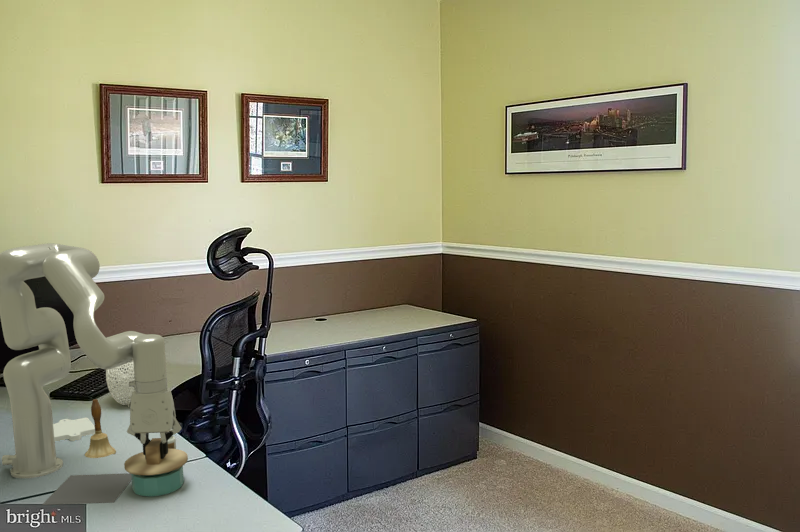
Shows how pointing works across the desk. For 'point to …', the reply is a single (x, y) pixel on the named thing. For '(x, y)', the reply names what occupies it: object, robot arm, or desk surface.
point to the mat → (90, 489)
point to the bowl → (157, 483)
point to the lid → (155, 460)
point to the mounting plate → (73, 429)
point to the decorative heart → (121, 382)
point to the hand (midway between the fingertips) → (156, 456)
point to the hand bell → (98, 436)
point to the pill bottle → (172, 442)
